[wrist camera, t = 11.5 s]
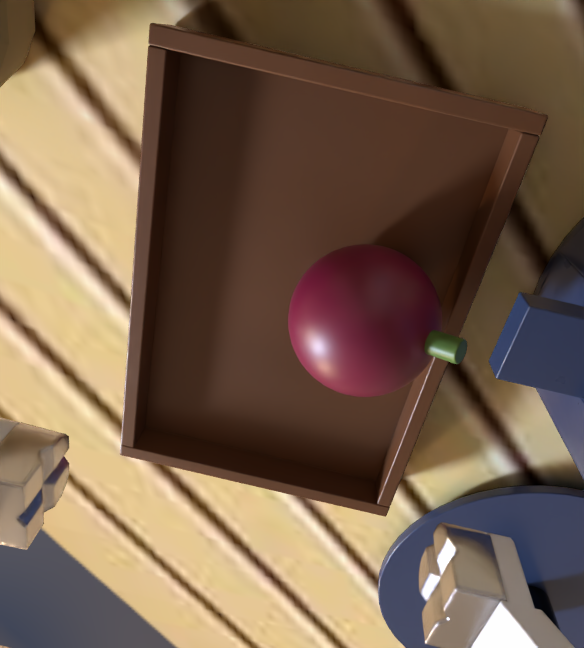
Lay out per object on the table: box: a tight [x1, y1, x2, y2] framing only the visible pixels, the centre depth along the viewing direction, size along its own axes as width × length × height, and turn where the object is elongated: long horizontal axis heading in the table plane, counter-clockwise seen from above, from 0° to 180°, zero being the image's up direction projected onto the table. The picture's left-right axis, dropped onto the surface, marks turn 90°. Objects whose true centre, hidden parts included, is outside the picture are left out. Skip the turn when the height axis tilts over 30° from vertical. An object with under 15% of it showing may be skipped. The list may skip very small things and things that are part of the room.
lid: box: [378, 485, 584, 648], centre depth 26 cm, size 14×14×5 cm
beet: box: [288, 244, 467, 397], centre depth 18 cm, size 5×5×6 cm
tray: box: [120, 23, 548, 516], centre depth 21 cm, size 17×12×2 cm
